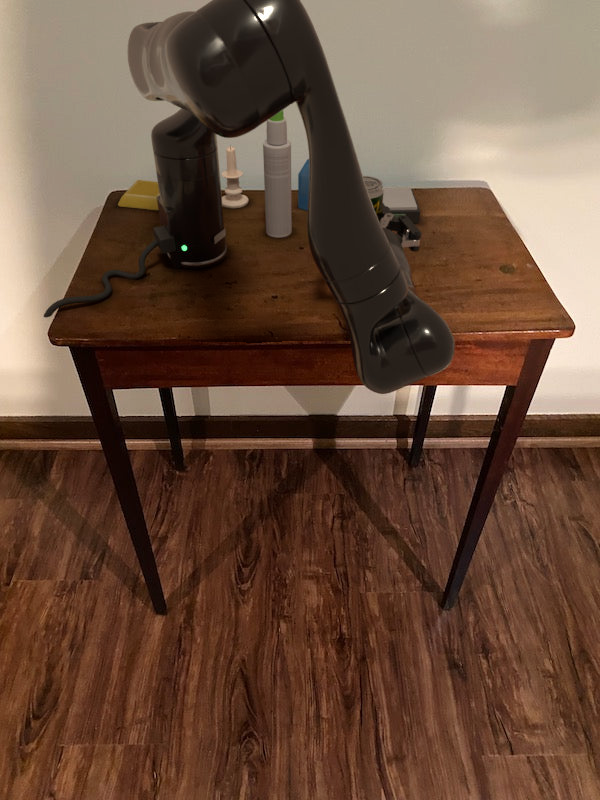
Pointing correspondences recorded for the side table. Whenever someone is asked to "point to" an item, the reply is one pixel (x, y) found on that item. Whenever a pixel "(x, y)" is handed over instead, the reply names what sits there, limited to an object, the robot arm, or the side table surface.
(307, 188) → the perfume bottle
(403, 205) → the kitchen scale
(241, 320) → the side table surface
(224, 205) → the candle
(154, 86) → the robot arm
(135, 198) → the yellow flat block
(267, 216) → the bottle
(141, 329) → the side table surface
